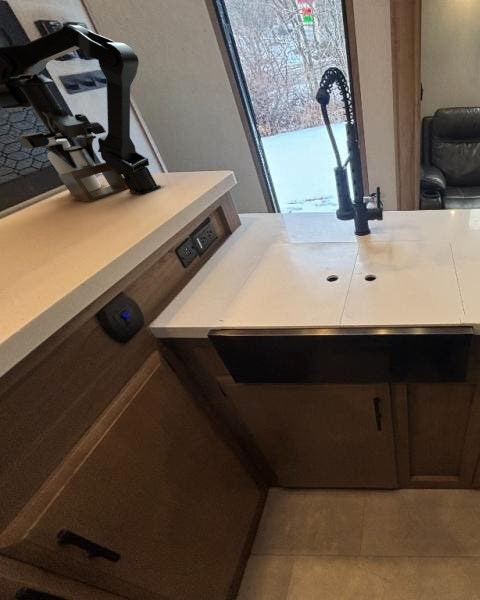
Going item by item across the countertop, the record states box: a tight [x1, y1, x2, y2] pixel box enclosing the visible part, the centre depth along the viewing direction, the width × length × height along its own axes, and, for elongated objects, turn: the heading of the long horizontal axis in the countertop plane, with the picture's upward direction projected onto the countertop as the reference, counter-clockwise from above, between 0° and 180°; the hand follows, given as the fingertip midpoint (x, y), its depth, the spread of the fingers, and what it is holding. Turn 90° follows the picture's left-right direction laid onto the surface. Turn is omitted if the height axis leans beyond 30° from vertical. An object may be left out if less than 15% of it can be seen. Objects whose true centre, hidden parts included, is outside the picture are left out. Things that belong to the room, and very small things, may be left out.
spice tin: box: [64, 145, 96, 170], centre depth 95 cm, size 5×5×6 cm
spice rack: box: [57, 161, 129, 203], centre depth 99 cm, size 8×12×9 cm, turn 157°
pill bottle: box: [46, 138, 102, 193], centre depth 101 cm, size 8×8×15 cm
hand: (84, 165), depth 96 cm, fingers closed on spice tin, 5 cm apart
